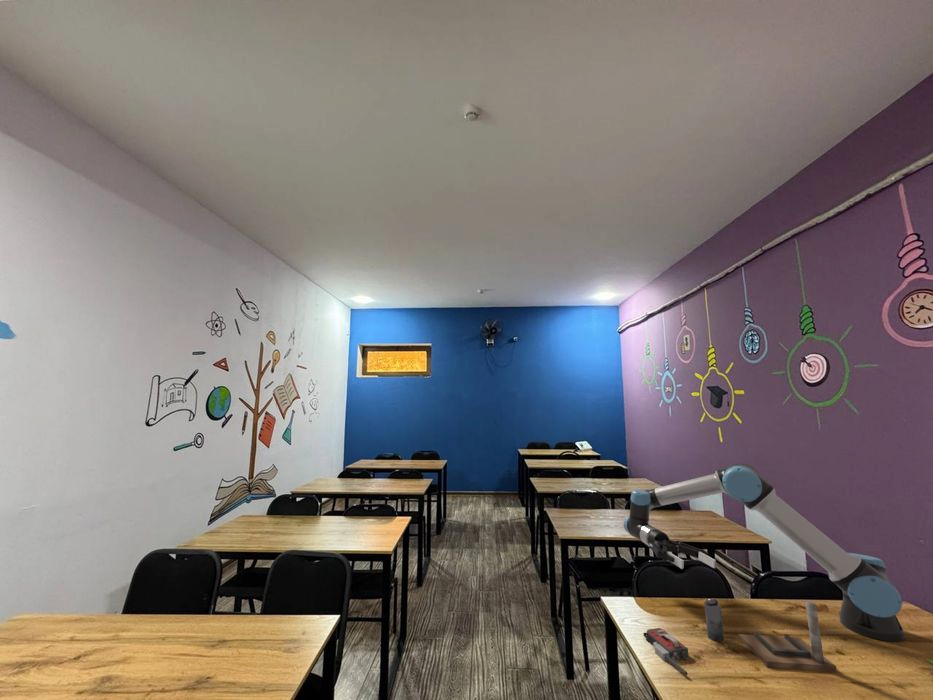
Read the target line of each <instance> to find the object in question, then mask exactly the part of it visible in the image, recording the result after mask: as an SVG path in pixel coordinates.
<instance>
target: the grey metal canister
mask: <svg viewBox="0 0 933 700" xmlns="http://www.w3.org/2000/svg"><path fill="white" fill-rule="evenodd" d="M704 614H705V623H706V632H707V638H708V639H709V640H711V641H713V640H714V642H716V641H718V642H717V643H723V642H722V641H724V642H725V633H724V632H725V631H724V624H723V622H724V621H723V615H722V614H723V613H722V606H721V604H720V603H719V601H718V599H717V598H708V599H706V600H705V601H704Z"/></svg>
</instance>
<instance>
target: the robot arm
mask: <svg viewBox="0 0 933 700" xmlns="http://www.w3.org/2000/svg"><path fill="white" fill-rule="evenodd" d="M630 493H631V494H630V507H629V508H630V510H629V515H627V516H626V517H625V519H624V521H623V529H624V531H625V532H627V533H628V534H629V535H630V536H631V537H634V538H635V539H636V540H639V541H640V542H642V543H644V545H646V546H647V547H649V549H651V550H652V551H653V553H654V555H655V556H656V557H657V558H658V559H662V561H663V562H667V561H669V562H670V563H671V564H673V565H675V566H676V567H678V568H679V569H681V570H683V569H684V563H685V560H684V559H682V558H680V557H679V556H677V555H675V554H674V553H676V554H679V555H680V554H683V555H687V556H691V557H692V558H697V560H699V561H700V562H702V563H703V564H705V565H707V566H709V567H711V568H713V569H716V567H717V566H716V562H717V561H716V559H714V558H712V557H711V556H709V555H707V554H706V553H705V550H704V549H701V548H698V547H695V546H692V545H691V544H690V545H689V544H686V543H684V542H682V541H680V540H676V541H674V540H672V539H670V538H669V536H668V534H666V533H665V532H663V531H662V530H660V529H658V528H657V527H655V526H653V525H652V524H651V525H650V524H649V521H650V512H651V510H652V509H654V508H658V507H662V506H666V505H672V504H676V503H681V502H686V501H689V500H694V499H699V498H700V499H701V498H704V497H709V496H713V495H717V494H718V495H719V494H723V493H724V494H726V495H729V496H730V497H731V498H733V499H734V500H737V501H739V502H740V503H741V504H742V505H743V506H745V507H746V508H747V509H748V510H750V511H756V512H758V513H759V514H761V516H763V517H764V518H765V519H766V520H768V522H770V523H771V524H772V525H773V526H775V528H777V529H778V530H779V531H780V532H781V533H783V534H784V535H785V536H786V537H787V538H788V539H790V540H791V541H792V542H793V543H794V544H796V546H797V547H799V548H800V549H801V550H802V551H804V552H805V553H806V554H807V555H808V556H810V557H811V558H812V559H813V560H814V561H815V562H816V563H817V564H819V565H820V566H821V567H822V568H823V569H824V570H826V571H827V573H828V578H829V580H830V581H831V582H832V583H833V584H835V585H836V586H837V587H838V588H839V589H840V590H841V592H842V601H841V606H840V611H839V615H838V616H839V621H840V623H841V624H842V626H844V627H845V628H847V629H849V630H851V631H853V632H855V633H857V634H860V635H863V636H866V637H868V638H872V639H876V640H879V641H886V642H902V641H904V640H906V637H905V631H904V628H903V627H902V624H901V622H900V621H899V618H898V617H897V614H899V613H900V611H901V610H902V608H903V600H902V597H901V594H900V592H899V590H898V588H896V586H895V585H894V584H893V583H892V582H891V580H890V579H889V578H888V575H887V571H886V570H887V567H886V565H885V563H884V561H883V560H882V559H881V558H877V557H875V556H870V555H865V554H861V553H853V552H847V551H845V550H844V549H843V548H842V547H841V546H839V545H838V544H837V543H836V542H834V541H833V540H832V539H831V538H830V537H828V536H827V535H826V534H824V533H823V532H822V531H821V530H820V529H819V528H817V527H816V526H815V525H814V524H812V523H811V522H810V521H809V520H808V519H806V518H805V517H804V516H803V515H802V514H800V513H799V512H798V511H797V510H795V509H794V508H793V507H791V506H790V505H789V504H788V503H786V501H785V500H784V499H782V498H781V497H780V496H778V495H777V492H776V489H775V487H774V486H773V485H772V484H770V483H769V482H768V481H767V480H765V479H764V478H763V477H762V476H761V474H760V473H759V471H758V470H757V469H756V468H754V467H753V466H751V465H749V464H748V463H747V464H746V463H740V462H739V463H734V464H731V465H730V466H726V467H724V468H721V469H717V470H715V472H714V473H711V474H708V475H704V476H700V477H696V478H693V479H692V478H691V479H687V480H684V481H679V482H676V483H672V484H671V483H670V484H667V485H664V486H663V485H662V486H659V487H655V488H650V489H649V488H648V489H644V490H643V489H632V490H631V492H630Z"/></svg>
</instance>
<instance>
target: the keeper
mask: <svg viewBox="0 0 933 700" xmlns="http://www.w3.org/2000/svg"><path fill="white" fill-rule="evenodd" d="M804 603H805V611H806V618H807V623H808V624H807V625H808V631H809V632H808V633H809V641H810V644H809V643H808V642H806V641H805V639H803V638H802V637H798V636H790V635H789V634H788V633H787V634H786V633H784V634H783V635H784V636H780V635H779V636H777V635H763V634H762V635H761V634H759V633H758V632H755V631H754V632H753V634H744V633H743V634H742V633H741V634H740V633H738V640H739V639H740V640H741V641H742V642H743V643H744V644H745V645H746V646H747V647H748V648H749V649H750V650H751V651H752V652H753V653H754V654H755V655H756V656H757V657H758V658H759V659H760V660H761V661H762V662H763V663H764V664H763V663H762V662H761V661H760V660H759V659H758V658H757V657H756V656H755V655H754V654H753V653H752V654H753V655H754V656H755V657H756V658H757V659H758V660H759V661H760V662H761V663H762V664H763V665H764V666H765V667H766V668H771V669H773V668H774V669H786V670H787V669H788V670H803V671H805V670H806V671H819V672H832V673H837V671H838V670H837V665H836V664H834V663H833V662H832V661H830V660H829V659H828V658H826V657H825V656H824V651H823V645H822V636H821V631H820V623H819V617H818V612H823V613H824V612H825V613H829V611H830V610H829V607H828V605H827V604H824V603H823V604H822V603H814V602H811V601H805V602H804ZM740 640H739V641H740ZM741 641H740V642H741ZM742 642H741V643H742ZM743 643H742V644H743ZM744 644H743V645H744ZM745 645H744V646H745ZM746 646H745V647H746ZM747 647H746V648H747ZM749 649H748V650H749ZM750 650H749V651H750ZM751 651H750V652H751Z"/></svg>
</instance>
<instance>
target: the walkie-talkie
mask: <svg viewBox="0 0 933 700" xmlns="http://www.w3.org/2000/svg"><path fill="white" fill-rule="evenodd" d="M643 637H644V638H646V640H647V642H649V643H650V645H652V646H653V648H654V653H655V654H656V655H657V656H658V657H659V658H661V660H662V661H666V662H669V663H670V664H672V665H673V666H674V668H676V669H677V670H679V671H681V673H683V675H686V676H688V671H686V670H685V669H684V668H683V667H682V666H680V665H679V664H678V663H677V662H676V661H679V660H687V659H689V648H688V647H686V646H685V645H684V644H682V643H681V642H680V641H679V640H678V639H676V638H675V637H674V636H672V635H671V633H669V632H668V631H666V630H665V629H663V628H660V627H658V628H650V629H647V630H646V632H643Z"/></svg>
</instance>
